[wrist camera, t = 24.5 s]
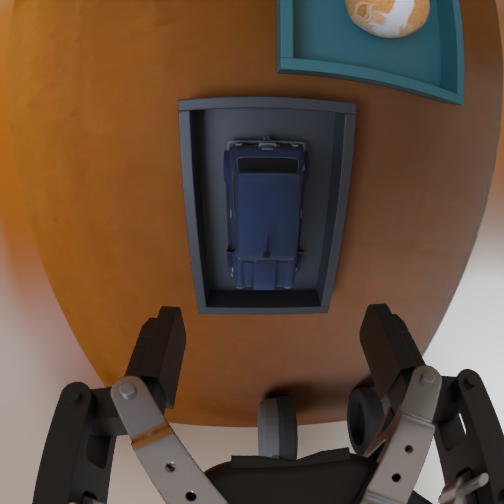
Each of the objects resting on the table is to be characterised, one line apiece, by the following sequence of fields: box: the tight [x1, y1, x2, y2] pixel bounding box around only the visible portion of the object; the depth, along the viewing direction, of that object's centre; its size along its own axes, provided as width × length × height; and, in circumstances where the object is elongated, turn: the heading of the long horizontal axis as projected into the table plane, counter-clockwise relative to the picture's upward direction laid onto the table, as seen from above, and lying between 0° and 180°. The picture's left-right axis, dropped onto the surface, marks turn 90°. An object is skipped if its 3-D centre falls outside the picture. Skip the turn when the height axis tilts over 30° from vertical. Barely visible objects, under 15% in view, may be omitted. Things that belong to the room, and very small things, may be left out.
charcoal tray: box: [178, 96, 357, 314], centre depth 22 cm, size 18×12×3 cm, turn 0°
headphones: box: [258, 386, 390, 461], centre depth 29 cm, size 19×11×20 cm, turn 92°
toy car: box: [223, 135, 310, 290], centre depth 20 cm, size 6×12×6 cm, turn 0°
